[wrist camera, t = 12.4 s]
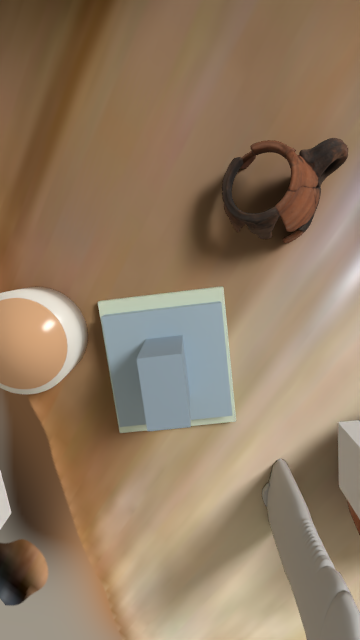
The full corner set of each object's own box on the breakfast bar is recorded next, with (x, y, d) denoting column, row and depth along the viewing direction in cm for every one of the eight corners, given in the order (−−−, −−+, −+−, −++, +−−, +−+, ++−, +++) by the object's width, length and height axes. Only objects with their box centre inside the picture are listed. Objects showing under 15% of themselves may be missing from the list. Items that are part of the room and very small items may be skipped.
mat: (99, 300, 37) (97, 302, 36) (222, 286, 37) (223, 287, 36) (121, 428, 40) (119, 433, 39) (235, 417, 40) (236, 421, 39)
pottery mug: (270, 267, 37) (247, 252, 30) (225, 207, 40) (195, 180, 32) (371, 190, 32) (374, 149, 25) (313, 128, 35) (300, 76, 28)
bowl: (-16, 292, 37) (-46, 297, 33) (78, 281, 37) (62, 284, 32) (5, 382, 40) (-20, 400, 35) (95, 373, 39) (82, 389, 34)
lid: (104, 314, 37) (80, 331, 28) (220, 301, 36) (229, 314, 28) (122, 421, 39) (104, 465, 31) (230, 410, 38) (242, 451, 30)
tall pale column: (264, 455, 41) (352, 680, 19) (298, 456, 41) (424, 683, 19) (259, 528, 43) (332, 807, 21) (290, 529, 43) (397, 811, 21)
